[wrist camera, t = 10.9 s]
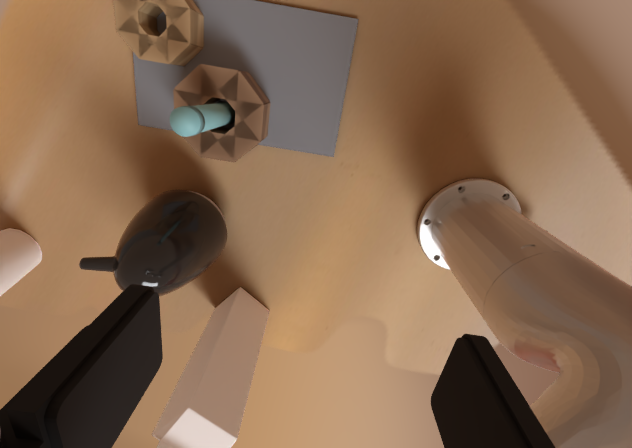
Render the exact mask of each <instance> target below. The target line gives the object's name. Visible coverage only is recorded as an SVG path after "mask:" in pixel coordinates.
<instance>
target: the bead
mask: <svg viewBox="0 0 632 448" xmlns="http://www.w3.org/2000/svg"><path fill="white" fill-rule="evenodd" d="M173 93H174V109H176V108H178V107H181V106H196V105H205V104H214V103H216V102H217V101H219V100H220V99H226V100H227V101H228V103H229V104H230V105H231V107H232V108H233V109H234V110H235V126H234V127H233V128H232V129H230V128H224V127H222V126H220V127H217V128H214V129H211V130H208V131H204V132H201V133H199V134H197V135H194V136H188V137H183V136H182V137H183V138H184V139H185V140H186V141H187V143H188V144H189V145H190V146H191V147H192V148H193V150H194V151H195V152H196V153H197V154H198V155H199V156H200V157H204V158H210V159H216V160H222V161H228V162H236V161H237V160H238V159H240V158H241V157H242V156H243V155H245V154H246V153H247V152H248V151H250V150H251V149H252V148H254V147H255V146H256V145H257V144H259V143H260V142H261V141H262V140H264V139H265V138H266V137H267V136H268V125H269V114H270V103H269V102H270V101H269V99H268V98H267V97H266V95H265V94H264V92H263V91H262V90H261V88H260V87H259V86H258V84H257V83H256V81H255V80H254V79H253V77H252V76H251V75H250V73H248V72H245V71H239V70H234V69H228V68H222V67H216V66H210V65H205V64H199V65H198V66H197V67H196V68H195V69H194V70H193V71H192V72H191V73H190V74H189V75H188V76H187V77H186V78H184V79H183V80H182V81H181V82H180V83H179V84H178V85H177V86H176V87H175V88H174V89H173Z"/></svg>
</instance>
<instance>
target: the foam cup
mask: <svg viewBox="0 0 632 448" xmlns="http://www.w3.org/2000/svg"><path fill="white" fill-rule="evenodd" d="M41 260H42V251H41V249H40V246H39V244H38V243H37V242H36V241H35V240H34V239H33V238H32V237H31V236H30V235H28V234H27V233H25V232H23V231H21V230H17V229H12V228H8V229H4V230H1V231H0V296H1V295H2V294H3V293H5V292H6V291H7V290H8V289H9V288H11V287H12V286H13V285H14V284H15V283H17V282H18V281H19V280H20V279H21V278H23V277H24V276H25V275H26V274H27V273H29V272H30V271H31V270H32V269H33V268H34V267H35V266H37V265H38V264H39V263H40V262H41Z"/></svg>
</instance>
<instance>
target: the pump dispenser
mask: <svg viewBox="0 0 632 448" xmlns="http://www.w3.org/2000/svg"><path fill="white" fill-rule="evenodd" d="M226 241H227V228H226V224H225V220H224V217H223V214H222V212H221V211H220V209H219V208H218V206H217V205H216V204H215V203H214V202H213V201H212V200H210V199H209V198H207V197H206V196H204V195H202V194H199V193H196V192H192V191H185V190H170V191H166V192H163V193H161V194H159V195H157V196H156V197H154V198H153V199H151V200H150V201H149V202H148V203H146V204H145V205H144V206H143V207H142V208H141V210H140V211H139V212H138V213H137V214H136V215H135V216H134V218H133V219H132V220H131V221H130V223H129V224H128V226H127V228H126V229H125V231H124V233H123V235H122V237H121V239H120V241H119V243H118V246H117V250H116V253H115V256H114V257H89V258H82V259H81V261H80V264H79V266H80V268H81V269H84V270H96V271H108V272H113V273H114V277H115V280H116V283H117V284H118V286H119V287H120V289H121V290H122V291H124V290H125V289H126V288H127V287H128V286H129V285H131V284H137V285H144V286H150V287H153V289H154V292H157V293H158V294H159V296H162V295H165V294H168V293H171V292H173V291H175V290H177V289H179V288H181V287H183V286H184V285H186V284H188V283H189V282H191V281H193V280H194V279H196V278H197V277H198V276H200V275H201V274H202V273H203V272H205V271H206V270H207V269H208V268H209V267H210V266H211V265H212V264H213V263H214V262H215V261H216V260H217V258H218V257H219V256H220V254H221V253H222V251H223V249H224V247H225V245H226Z"/></svg>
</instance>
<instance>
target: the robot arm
mask: <svg viewBox="0 0 632 448" xmlns="http://www.w3.org/2000/svg"><path fill="white" fill-rule="evenodd" d="M460 186H461V188H460V189H458V188H459V187H460ZM426 219H427V220H426ZM424 220H426V221H424ZM417 234H418V240H419V244H420V246H421V248H422V250H423V251H424V253H425V254H426V256H427V257H428V258H429V259H430V260H431V261H432V262H433V263H435V264H437V265H439V266H440V267H443V268H446V269H449V270H451V271H452V273H453V274H454V276H455V277H456V279H457V280H458V282H459V283H460V285H461V286H462V288H463V289H464V291H465V292H466V294H467V295H468V296H469V298H470V299H471V301H472V302H473V304H474V305H475V307H476V308H477V310H478V311H479V313H480V314H481V316H482V317H483V319H484V320H485V322H486V323H487V325H488V326H489V328H490V329H491V331H492V332H493V334H494V335H495V337H496V338H497V339H498V340H499V342H500V343H501V344H502V345H503V346H504V347H505V348H506V349H507V350H508V351H510V352H511V353H512V354H514V355H515V356H517V357H518V358H520V359H521V360H524V361H526V362H528V363H530V364H533V365H535V366H538V367H541V368H544V369H547V370H550V371H554V372H558V373H559V376H558V377H557V379H556V381H555V382H553V383H552V384H551V385H550V386H549V387H548V388H547V389H546V390H545V391H544V392H543V393H542V394H541V395H540V398H539V399H538V400H537V401H535V402H534V403H533V404H532V405H531V406H529V405H528V403H527V401H526V400H525V398H524V397H523V395H522V394H521V392H520V390H519V389H518V387H517V386H516V384H515V382H514V381H513V379H512V378H511V376H510V374H509V373H508V371H507V370H506V368H505V366H504V365H503V363H502V362H501V360H500V359H499V357H498V355H497V354H496V352H495V351H494V349H493V347H492V346H491V344H490V343H489V341H488V340H487V338H485V337H483V336H477V335H470V334H464V335H463V336H462V337H461V338H458V339H457V340H456V342H455V344H454V346H453V349H452V351H451V353H450V355H449V358H448V360H447V362H446V364H445V366H444V369H443V371H442V373H441V375H440V378H439V380H438V382H437V384H436V387H435V389H434V391H433V394H432V396H431V406H432V410H433V413H434V416H435V420H436V423H437V426H438V429H439V432H440V435H441V438H442V441H443V445H444V448H632V286H630V285H628V284H627V283H625V282H624V281H622V280H620V279H619V278H617V277H615V276H614V275H612V274H611V273H609V272H608V271H606V270H605V269H603V268H602V267H600V266H599V265H597V264H595V263H594V262H592V261H591V260H589V259H588V258H586V257H585V256H583V255H582V254H580V253H579V252H577V251H576V250H574V249H573V248H571V247H569V246H568V245H566V244H565V243H563V242H562V241H560V240H559V239H557V238H556V237H554V236H553V235H551V234H550V233H548V231H546V230H544V229H542V228H541V227H539V226H538V225H536V224H535V223H533V222H532V221H530V220H529V219H527V218H526V217H524V216H523V215H522V213H521V207H520V205H519V202H518V200H517V199H516V197H515V196H514V194H513V193H512V192H511V191H509V190H508V189H507V188H506V187H504V186H502V185H501V184H499V183H497V182H494V181H491V180H487V179H481V178H474V179H466V180H461V181H458V182H455V183H453V184H450V185H448V186H447V187H445V188H443V189H441V190H440V191H439V192H438V193H436V194H435V195H434V196H433V197H432V198H431V199H430V200H429V202H428V203H427V204H426V206H425V207H424V209H423V211H422V212H421V215H420V218H419V221H418V227H417ZM161 362H162V340H161V322H160V305H159V294H158V293H157V292H154V289H153V287H150V286H144V285H137V284H131V285H129V286H128V287H127V288H126V289H125V290H124V291H123V292H122V293H121V294H120V295H119V296H118V297H117V298H116V299H115V300H114V301H113V302H112V303H111V304H110V305H109V306H108V307H107V308H106V309H105V310H104V311H103V312H102V313H101V314H100V315H99V316H98V317H97V318H96V319H95V320H94V321H93V322H92V323H91V324H90V325H89V326H86V327H85V328H84V329H82V330H81V331H80V332H79V333H78V334H77V335H76V336H75V337H74V338H73V339H72V340H71V341H70V342H69V343H68V344H67V345H66V346H65V347H64V348H63V349H62V350H61V351H60V352H59V353H58V354H57V355H56V356H55V357H54V358H53V359H52V360H50V362H48V363H47V364H46V365H45V367H43V369H41V370H40V372H38V373H37V374H36V375H35V376H34V377H33V378H32V379H31V380H30V381H29V382H28V383H27V384H26V385H25V386H24V387H23V388H22V389H21V390H20V391H19V392H18V393H17V394H16V395H15V396H14V397H13V398H12V399H11V400H10V401H9V402H8V403H7V404H6V405H5V406H4V407H3V408H2V409H1V410H0V448H112V446H113V444H114V443H115V441H116V440H117V438H118V436H119V435H120V433H121V431H122V430H123V428H124V426H125V425H126V423H127V421H128V420H129V418H130V416H131V414H132V413H133V411H134V410H135V408H136V406H137V405H138V403H139V401H140V400H141V397H142V396H143V395H144V393H145V391H146V390H147V388H148V386H149V384H150V383H151V381H152V379H153V378H154V376H155V375H156V373H157V371H158V369H159V368H160V365H161Z"/></svg>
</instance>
